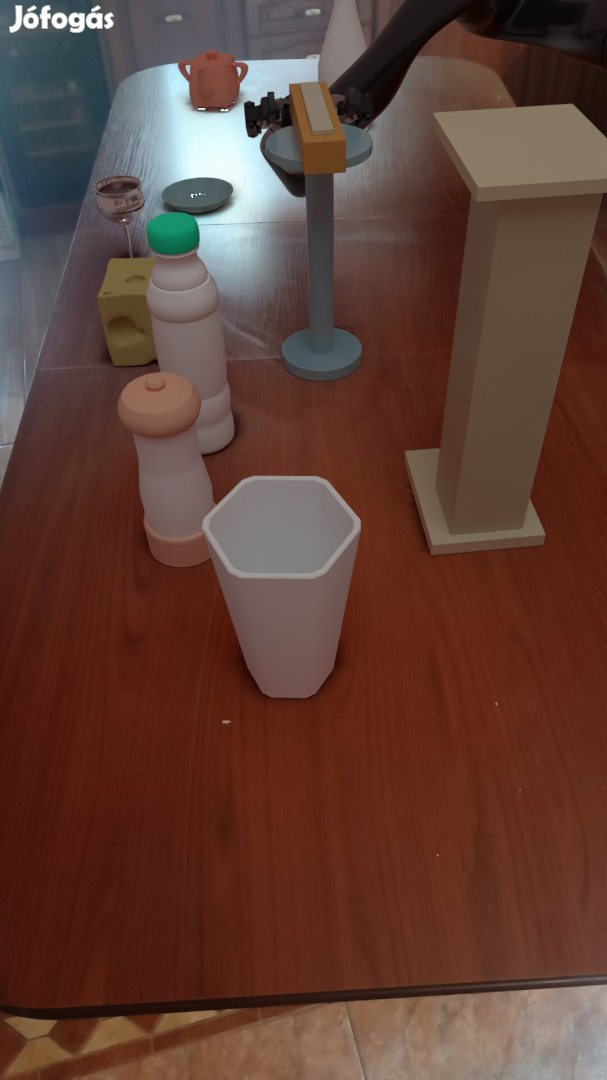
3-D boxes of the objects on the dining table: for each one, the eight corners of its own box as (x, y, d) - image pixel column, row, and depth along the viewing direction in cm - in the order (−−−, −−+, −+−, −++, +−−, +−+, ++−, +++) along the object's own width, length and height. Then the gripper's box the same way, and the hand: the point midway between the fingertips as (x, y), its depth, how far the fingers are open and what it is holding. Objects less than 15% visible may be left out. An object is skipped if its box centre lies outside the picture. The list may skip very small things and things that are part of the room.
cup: (355, 618, 72) (360, 475, 59) (356, 717, 65) (361, 578, 52) (231, 617, 72) (210, 474, 60) (219, 715, 65) (192, 576, 53)
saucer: (160, 222, 129) (158, 208, 127) (166, 191, 137) (164, 178, 136) (233, 219, 129) (232, 204, 128) (235, 188, 137) (234, 175, 136)
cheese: (193, 366, 100) (182, 293, 93) (107, 369, 100) (90, 296, 93) (200, 322, 107) (190, 251, 100) (120, 325, 108) (105, 254, 100)
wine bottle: (308, 133, 154) (304, -58, 133) (343, 120, 159) (345, -67, 137) (343, 146, 149) (344, -51, 128) (378, 132, 154) (385, -60, 132)
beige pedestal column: (403, 461, 86) (432, 112, 61) (503, 452, 87) (572, 103, 62) (430, 555, 77) (478, 187, 52) (543, 545, 77) (644, 175, 52)
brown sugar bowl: (177, 101, 170) (170, 46, 162) (229, 91, 173) (224, 37, 166) (203, 121, 161) (196, 65, 153) (256, 110, 164) (253, 55, 157)
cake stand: (358, 331, 105) (364, 118, 86) (371, 379, 97) (381, 157, 78) (274, 338, 104) (262, 125, 86) (281, 387, 97) (269, 165, 78)
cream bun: (290, 113, 88) (288, 78, 85) (326, 111, 88) (326, 76, 85) (304, 175, 76) (303, 136, 73) (346, 172, 76) (346, 133, 74)
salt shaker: (237, 540, 79) (217, 376, 65) (179, 579, 76) (144, 416, 62) (191, 504, 83) (162, 343, 69) (134, 541, 79) (91, 378, 65)
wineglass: (100, 267, 119) (82, 185, 110) (137, 251, 122) (122, 170, 114) (128, 282, 116) (111, 199, 107) (165, 265, 119) (152, 183, 110)
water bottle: (190, 413, 93) (155, 199, 76) (245, 425, 92) (223, 209, 74) (161, 449, 89) (117, 231, 71) (218, 463, 87) (188, 242, 69)
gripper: (241, 103, 97) (240, 63, 82) (357, 95, 98) (378, 54, 82) (247, 170, 99) (247, 143, 84) (361, 162, 100) (382, 134, 84)
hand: (312, 99), depth 83 cm, fingers open, 8 cm apart
